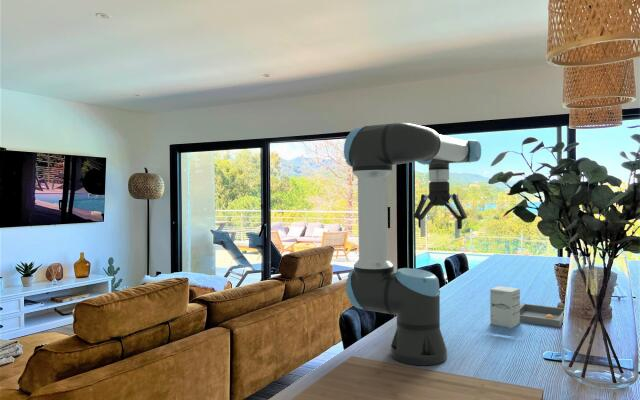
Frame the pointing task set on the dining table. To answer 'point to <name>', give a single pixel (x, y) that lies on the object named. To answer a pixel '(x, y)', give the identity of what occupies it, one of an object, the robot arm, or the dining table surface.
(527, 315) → the tray
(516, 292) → the supplement box
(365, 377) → the dining table surface
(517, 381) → the dining table surface
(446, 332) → the dining table surface
